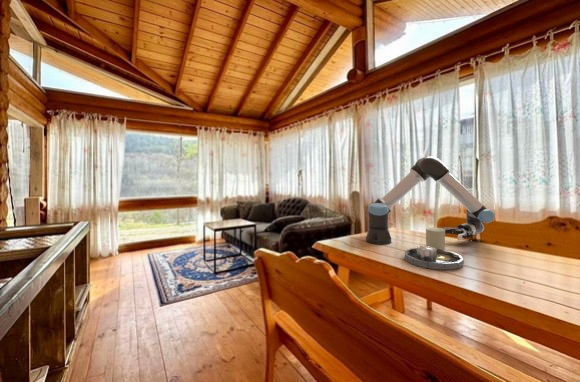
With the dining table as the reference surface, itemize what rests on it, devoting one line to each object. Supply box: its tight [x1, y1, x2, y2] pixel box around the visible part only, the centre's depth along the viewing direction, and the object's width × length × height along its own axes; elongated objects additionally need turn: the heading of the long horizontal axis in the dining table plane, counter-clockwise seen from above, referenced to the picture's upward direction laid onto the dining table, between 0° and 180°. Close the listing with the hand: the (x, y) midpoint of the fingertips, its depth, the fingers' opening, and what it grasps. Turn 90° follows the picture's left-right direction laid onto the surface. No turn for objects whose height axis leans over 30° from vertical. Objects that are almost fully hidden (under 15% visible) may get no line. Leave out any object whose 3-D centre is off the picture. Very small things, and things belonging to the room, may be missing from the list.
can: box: [425, 227, 446, 250], centre depth 139 cm, size 9×9×12 cm
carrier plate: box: [404, 245, 465, 271], centre depth 123 cm, size 24×24×7 cm
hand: (445, 235), depth 144 cm, fingers open, 13 cm apart
